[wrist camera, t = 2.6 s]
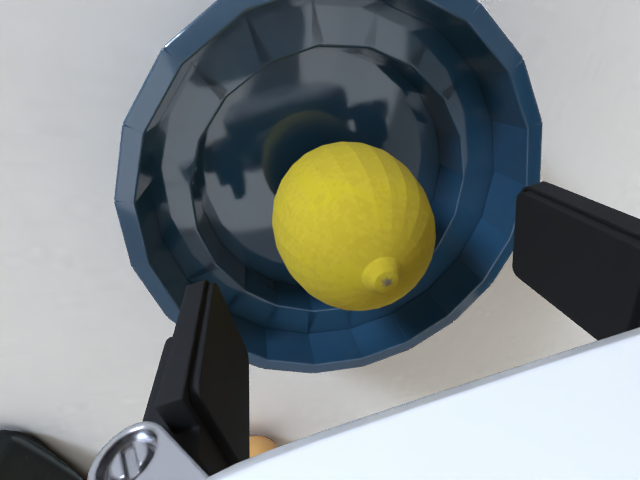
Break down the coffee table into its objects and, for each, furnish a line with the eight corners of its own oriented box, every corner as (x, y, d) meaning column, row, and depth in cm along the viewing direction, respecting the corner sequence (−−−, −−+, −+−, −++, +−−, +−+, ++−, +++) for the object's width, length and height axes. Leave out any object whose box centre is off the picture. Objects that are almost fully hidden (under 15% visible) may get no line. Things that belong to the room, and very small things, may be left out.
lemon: (399, 141, 16) (519, 208, 9) (361, 246, 18) (433, 364, 11) (281, 109, 14) (317, 160, 7) (255, 228, 17) (263, 353, 10)
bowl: (283, -129, 11) (304, -225, 7) (529, 143, 18) (610, 168, 14) (88, 228, 15) (36, 287, 12) (345, 344, 22) (367, 407, 18)
